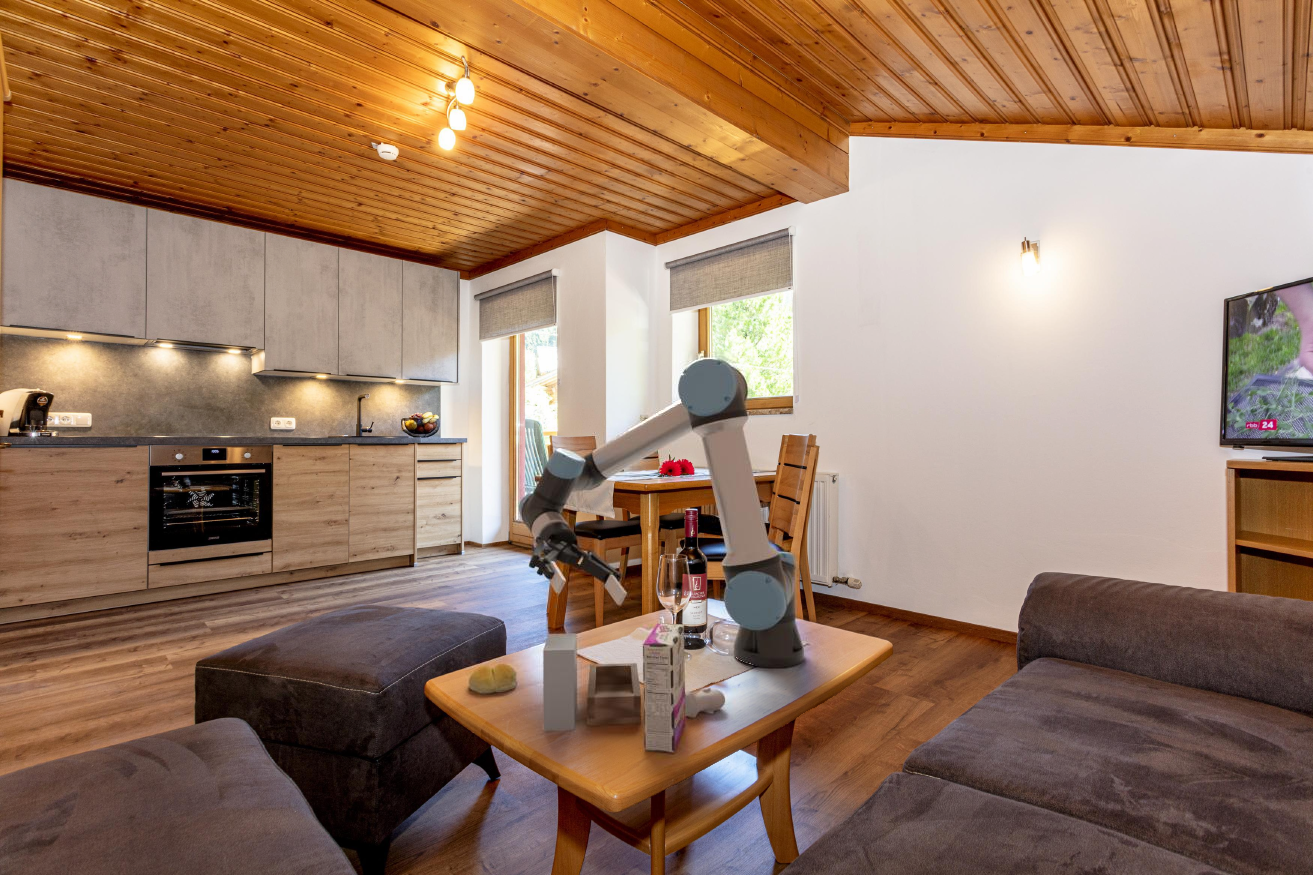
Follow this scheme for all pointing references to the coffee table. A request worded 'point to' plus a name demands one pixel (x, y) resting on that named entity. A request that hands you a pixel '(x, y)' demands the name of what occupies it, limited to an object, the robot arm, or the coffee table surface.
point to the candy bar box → (664, 687)
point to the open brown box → (613, 694)
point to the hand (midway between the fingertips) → (592, 593)
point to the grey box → (560, 682)
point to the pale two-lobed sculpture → (703, 702)
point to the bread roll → (493, 679)
